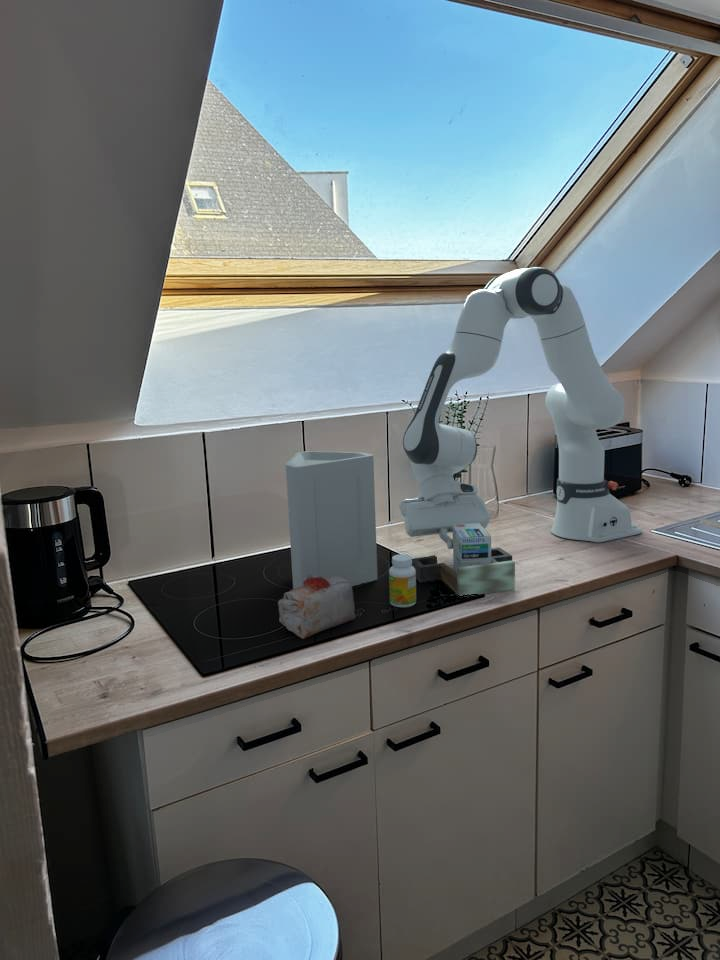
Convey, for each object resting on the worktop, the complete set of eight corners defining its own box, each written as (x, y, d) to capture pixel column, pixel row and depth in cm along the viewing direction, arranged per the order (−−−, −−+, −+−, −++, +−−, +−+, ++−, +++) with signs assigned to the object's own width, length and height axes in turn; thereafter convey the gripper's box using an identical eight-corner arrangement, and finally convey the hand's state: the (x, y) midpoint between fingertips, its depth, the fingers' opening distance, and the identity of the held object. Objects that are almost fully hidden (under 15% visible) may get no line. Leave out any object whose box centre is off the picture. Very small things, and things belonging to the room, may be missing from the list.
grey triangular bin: (344, 562, 173) (339, 446, 166) (379, 579, 160) (374, 455, 154) (272, 579, 163) (263, 457, 157) (302, 599, 150) (295, 467, 144)
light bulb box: (492, 583, 155) (492, 535, 153) (461, 585, 155) (460, 537, 152) (481, 567, 165) (481, 521, 163) (452, 568, 165) (451, 523, 163)
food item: (301, 644, 130) (298, 592, 128) (276, 630, 136) (273, 581, 134) (359, 622, 138) (357, 573, 136) (333, 610, 144) (331, 563, 142)
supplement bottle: (384, 603, 146) (382, 558, 144) (401, 595, 150) (400, 551, 148) (404, 610, 143) (403, 563, 141) (421, 602, 147) (420, 556, 144)
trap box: (498, 561, 169) (499, 536, 167) (534, 586, 152) (535, 559, 151) (410, 572, 163) (409, 547, 162) (438, 600, 147) (437, 572, 146)
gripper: (400, 493, 166) (415, 545, 159) (482, 485, 171) (500, 536, 164) (395, 507, 172) (409, 558, 165) (475, 499, 177) (491, 548, 170)
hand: (455, 547), depth 165 cm, fingers closed
